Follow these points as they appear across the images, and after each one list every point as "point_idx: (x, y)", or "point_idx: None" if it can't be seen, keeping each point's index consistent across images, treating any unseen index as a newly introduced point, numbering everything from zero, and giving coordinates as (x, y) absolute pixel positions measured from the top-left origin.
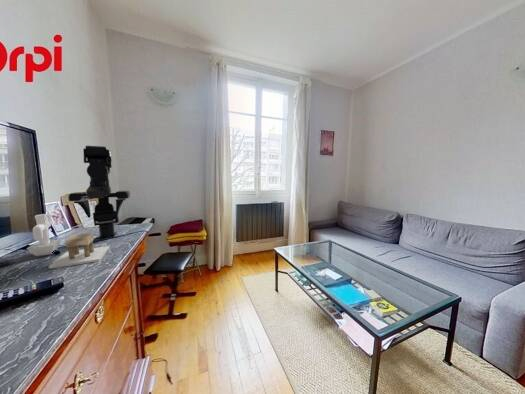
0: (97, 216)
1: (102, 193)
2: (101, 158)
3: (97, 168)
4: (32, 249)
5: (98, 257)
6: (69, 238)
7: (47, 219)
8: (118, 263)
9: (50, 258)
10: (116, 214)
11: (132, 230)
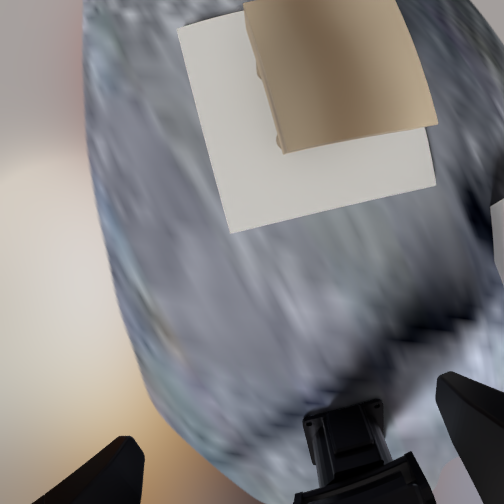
0: (404, 497)
1: None
2: None
3: None
4: None
5: (191, 45)
6: (393, 24)
7: None
8: (84, 17)
9: (462, 136)
10: (121, 442)
11: (253, 484)
